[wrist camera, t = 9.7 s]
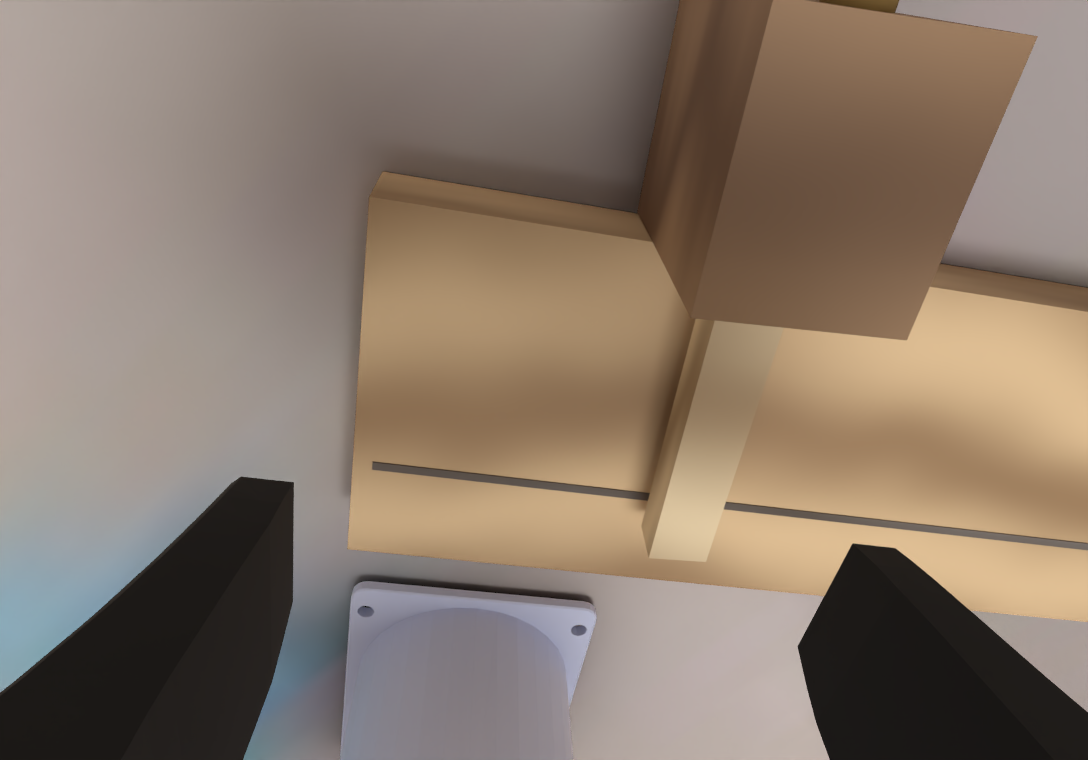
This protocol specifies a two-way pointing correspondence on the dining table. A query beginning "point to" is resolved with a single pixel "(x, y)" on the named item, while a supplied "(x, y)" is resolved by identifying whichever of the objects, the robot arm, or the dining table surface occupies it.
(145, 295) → the dining table surface
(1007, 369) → the board
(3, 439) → the dining table surface
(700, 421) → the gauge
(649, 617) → the dining table surface
